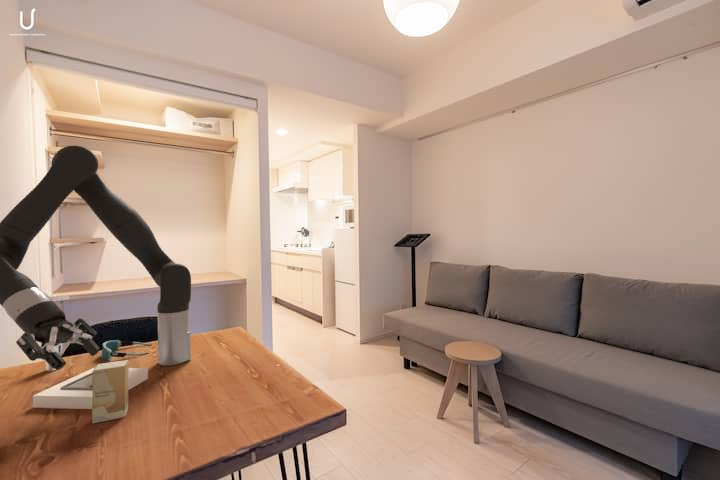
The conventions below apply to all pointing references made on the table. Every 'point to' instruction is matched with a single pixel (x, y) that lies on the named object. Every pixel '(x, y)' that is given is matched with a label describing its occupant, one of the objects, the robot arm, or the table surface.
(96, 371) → the skincare box
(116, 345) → the sunglasses
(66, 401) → the socket plate
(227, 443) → the table surface
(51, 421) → the table surface
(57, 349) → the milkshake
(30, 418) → the table surface
